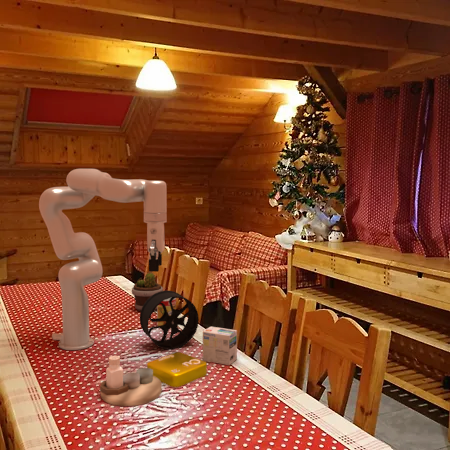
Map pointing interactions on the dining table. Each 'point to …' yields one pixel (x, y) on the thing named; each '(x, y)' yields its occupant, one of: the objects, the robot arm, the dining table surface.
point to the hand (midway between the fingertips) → (155, 268)
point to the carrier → (133, 389)
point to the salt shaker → (114, 373)
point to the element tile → (178, 369)
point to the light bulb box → (220, 345)
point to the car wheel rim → (170, 320)
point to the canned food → (161, 311)
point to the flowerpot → (145, 290)
